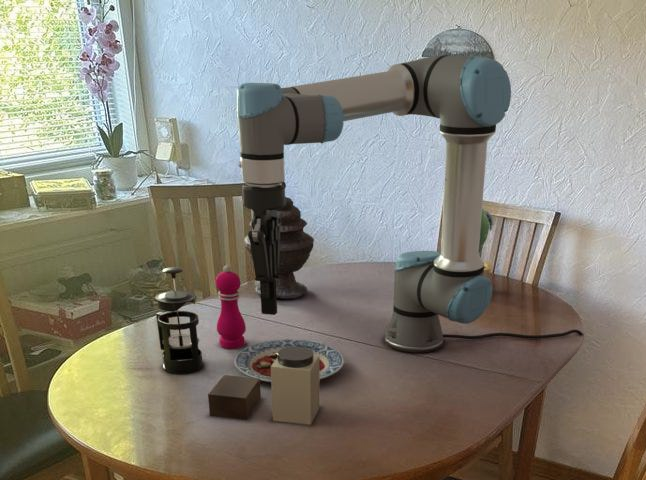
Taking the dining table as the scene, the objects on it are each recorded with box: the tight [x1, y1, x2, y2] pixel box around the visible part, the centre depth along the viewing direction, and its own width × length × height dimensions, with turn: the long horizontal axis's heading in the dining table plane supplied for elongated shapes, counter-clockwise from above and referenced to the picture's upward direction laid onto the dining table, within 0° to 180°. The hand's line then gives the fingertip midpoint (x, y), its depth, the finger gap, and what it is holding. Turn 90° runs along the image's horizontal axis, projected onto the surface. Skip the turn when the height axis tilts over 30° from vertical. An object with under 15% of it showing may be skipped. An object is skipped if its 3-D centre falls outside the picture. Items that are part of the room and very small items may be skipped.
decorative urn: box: [244, 181, 315, 300], centre depth 206 cm, size 20×20×35 cm
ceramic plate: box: [234, 339, 345, 383], centre depth 167 cm, size 26×26×3 cm
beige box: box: [270, 347, 320, 426], centre depth 144 cm, size 15×8×15 cm
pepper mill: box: [214, 264, 247, 350], centre depth 174 cm, size 7×7×20 cm
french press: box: [154, 267, 205, 375], centre depth 160 cm, size 12×9×23 cm
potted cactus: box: [478, 207, 494, 277], centre depth 218 cm, size 15×15×25 cm
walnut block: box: [207, 374, 262, 421], centre depth 148 cm, size 8×10×5 cm
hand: (269, 313), depth 137 cm, fingers closed
